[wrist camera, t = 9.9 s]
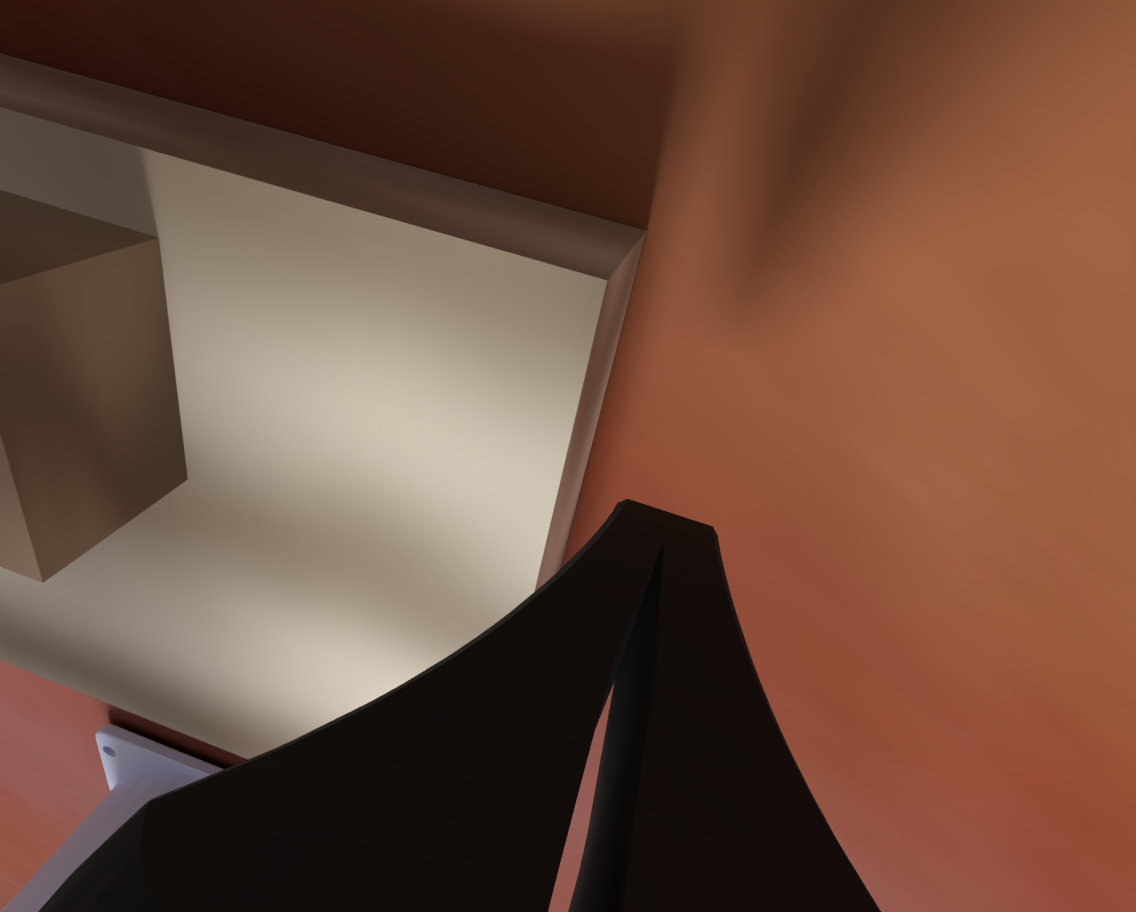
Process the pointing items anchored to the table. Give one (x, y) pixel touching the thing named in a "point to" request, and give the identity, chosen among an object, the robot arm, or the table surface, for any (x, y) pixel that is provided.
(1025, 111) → the table surface
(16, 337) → the walnut block
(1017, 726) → the table surface
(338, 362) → the maple board
